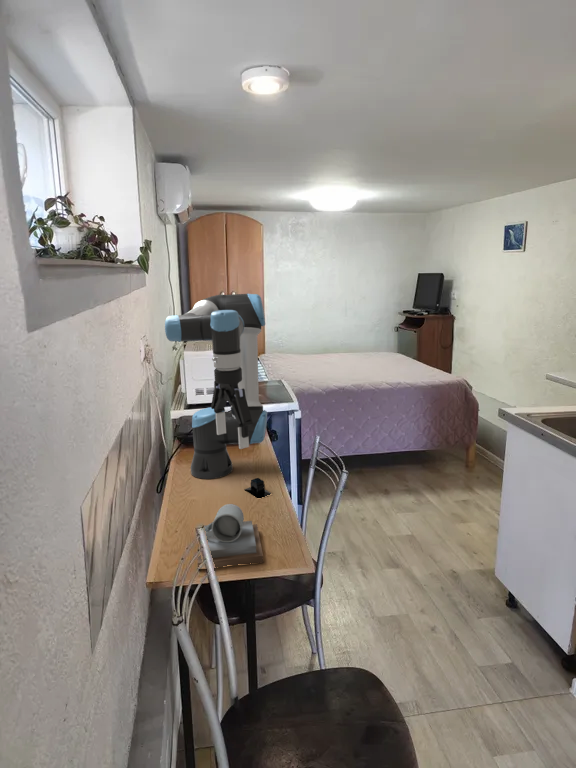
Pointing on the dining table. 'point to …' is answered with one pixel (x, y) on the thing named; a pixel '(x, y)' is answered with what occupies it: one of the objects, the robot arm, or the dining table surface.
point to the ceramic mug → (226, 524)
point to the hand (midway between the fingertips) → (232, 440)
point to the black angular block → (257, 488)
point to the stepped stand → (237, 548)
